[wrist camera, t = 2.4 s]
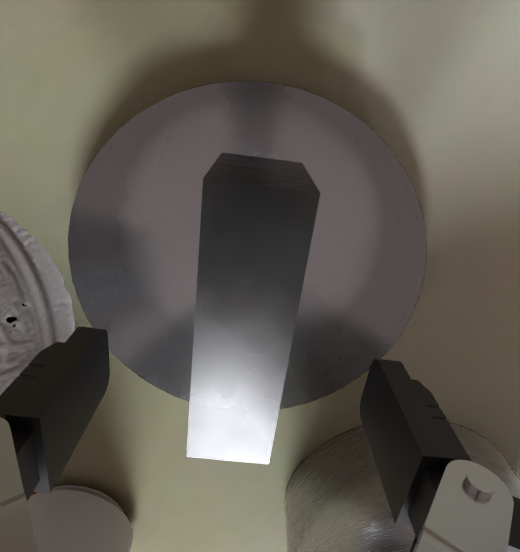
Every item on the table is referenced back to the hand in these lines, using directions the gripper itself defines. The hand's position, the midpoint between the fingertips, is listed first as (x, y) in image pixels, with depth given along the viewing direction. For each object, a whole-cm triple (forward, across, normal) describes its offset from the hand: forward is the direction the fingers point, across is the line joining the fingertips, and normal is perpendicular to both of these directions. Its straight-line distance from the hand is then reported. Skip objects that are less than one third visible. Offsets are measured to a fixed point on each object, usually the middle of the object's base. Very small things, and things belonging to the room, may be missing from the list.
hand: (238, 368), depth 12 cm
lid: (+7, 0, -1) cm, 7 cm away
